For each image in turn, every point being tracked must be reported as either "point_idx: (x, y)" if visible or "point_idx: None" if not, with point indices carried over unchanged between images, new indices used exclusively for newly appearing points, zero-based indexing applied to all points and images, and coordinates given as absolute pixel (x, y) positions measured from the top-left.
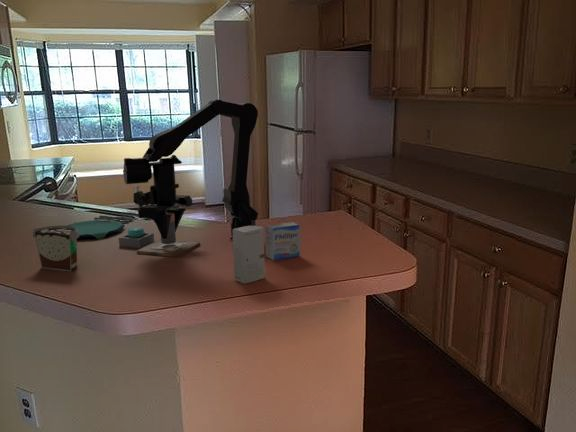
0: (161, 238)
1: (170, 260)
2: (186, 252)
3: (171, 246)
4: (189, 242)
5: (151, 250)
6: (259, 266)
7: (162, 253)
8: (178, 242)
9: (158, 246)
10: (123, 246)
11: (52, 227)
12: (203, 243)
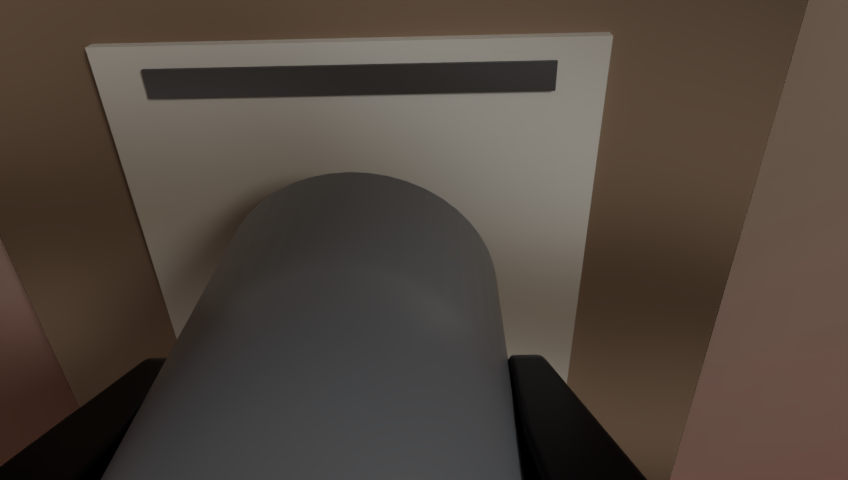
0: (207, 285)
1: (5, 448)
2: None
3: None
4: (637, 407)
5: (20, 112)
6: None
7: (49, 327)
8: (617, 276)
9: (244, 118)
10: None
11: None
12: (727, 469)
